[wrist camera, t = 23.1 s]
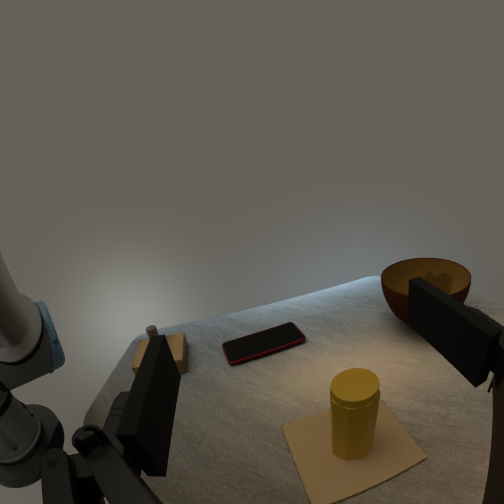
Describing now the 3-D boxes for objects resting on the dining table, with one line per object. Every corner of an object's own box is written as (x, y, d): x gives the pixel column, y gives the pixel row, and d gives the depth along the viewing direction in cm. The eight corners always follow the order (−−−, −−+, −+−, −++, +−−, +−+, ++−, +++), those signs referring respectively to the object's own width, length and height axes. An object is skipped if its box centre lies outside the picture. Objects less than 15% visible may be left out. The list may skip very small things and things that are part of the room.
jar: (333, 463, 26) (334, 405, 23) (330, 433, 30) (327, 372, 27) (374, 455, 25) (384, 395, 22) (367, 426, 30) (372, 364, 27)
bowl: (398, 359, 41) (402, 306, 38) (370, 310, 57) (369, 266, 55) (480, 333, 38) (489, 283, 36) (440, 294, 55) (442, 252, 53)
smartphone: (221, 343, 56) (291, 321, 59) (222, 346, 56) (292, 324, 59) (228, 363, 49) (306, 337, 52) (229, 367, 49) (307, 341, 52)
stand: (137, 380, 48) (121, 345, 46) (144, 352, 58) (131, 320, 55) (187, 371, 49) (173, 336, 47) (187, 344, 59) (177, 311, 57)
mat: (313, 510, 20) (313, 509, 20) (281, 427, 34) (281, 425, 33) (426, 458, 22) (427, 456, 22) (374, 393, 35) (375, 391, 35)
